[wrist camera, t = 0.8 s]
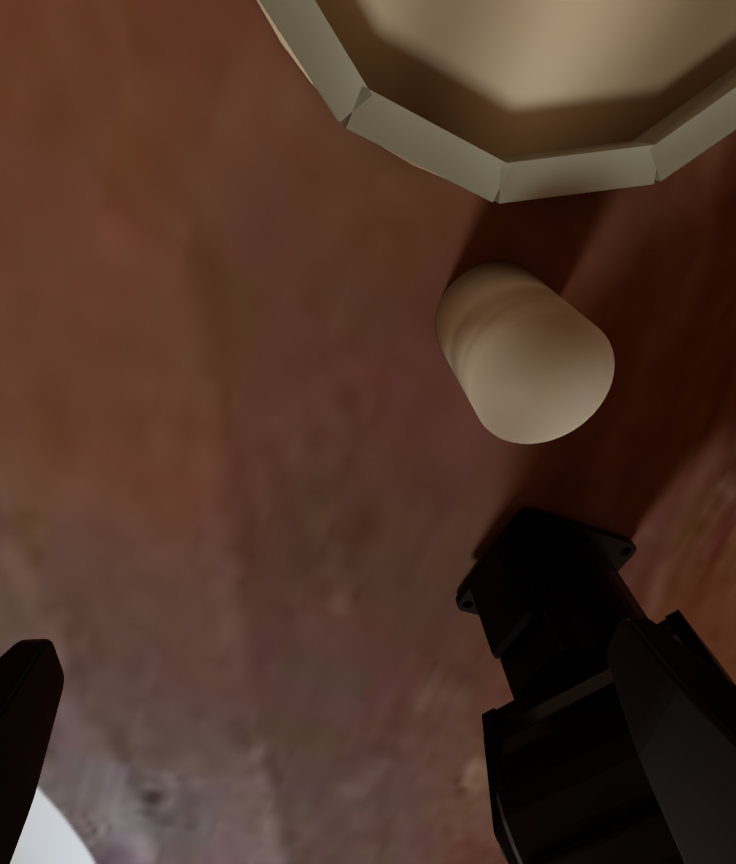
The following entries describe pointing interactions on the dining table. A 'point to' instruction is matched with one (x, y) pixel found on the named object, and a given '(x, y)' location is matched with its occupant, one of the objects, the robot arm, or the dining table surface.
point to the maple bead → (522, 353)
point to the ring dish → (523, 85)
